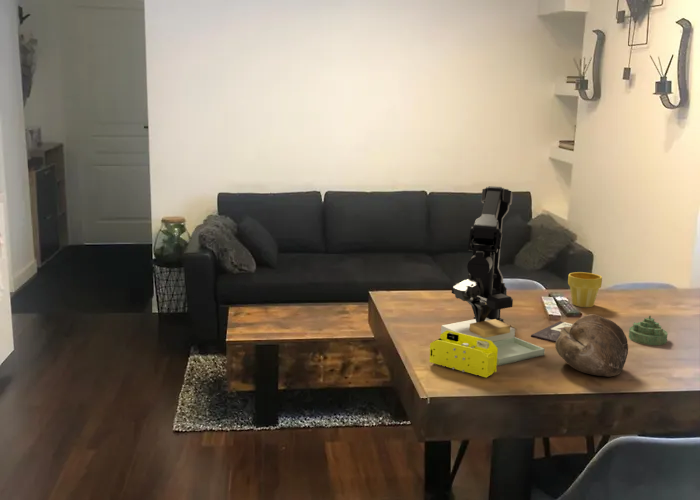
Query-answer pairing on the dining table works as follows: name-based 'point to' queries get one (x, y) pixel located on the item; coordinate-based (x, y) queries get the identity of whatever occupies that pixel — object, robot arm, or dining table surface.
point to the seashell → (593, 346)
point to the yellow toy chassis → (464, 353)
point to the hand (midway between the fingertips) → (479, 325)
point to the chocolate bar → (551, 332)
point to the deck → (464, 329)
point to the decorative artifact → (648, 332)
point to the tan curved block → (489, 328)
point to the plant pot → (584, 288)
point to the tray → (516, 350)
